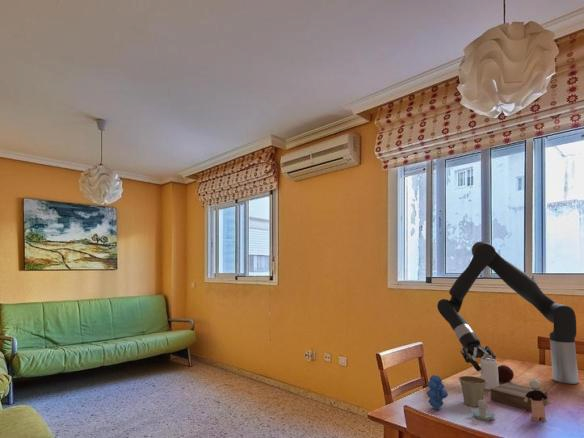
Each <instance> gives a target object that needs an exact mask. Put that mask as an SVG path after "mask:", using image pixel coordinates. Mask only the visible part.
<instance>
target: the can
mask: <svg viewBox="0 0 584 438" xmlns="http://www.w3.org/2000/svg"><path fill="white" fill-rule="evenodd" d="M479 366H480V367H481V370H480V378H482V379H485V380H486V381H487V383H486V384H485V387H484V390H486V391H491V390H490V389H492V388H495V387H497V386H500V380H499V378H498V366H499V365H498V362H497V358H492V357H481V358H480V364H479Z"/></svg>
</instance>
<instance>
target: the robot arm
mask: <svg viewBox="0 0 584 438" xmlns="http://www.w3.org/2000/svg"><path fill="white" fill-rule="evenodd" d="M471 254H472V258H471V261H470V263H469V264H468V266H466V268H465V270H464V271H462V273H460V275H459V276H458V277H457V279H456V280H455V282H454V283H453V284H452V285H451V288H450V289H449V291H448V292H449V293H448V294H449V295H450V299H446V298H442V299H439V301H438V302H437V305H436V306H437V307H436V308H437V310H438V313H439V314H440V316H441V317H442V318H443V319H444V320H445V321H446V322H447V323H448V324H449V325H450V327H451V329H452V330H453V332H454V334H455V337H456V339H458V341H459V343H460V344H461V346H462V348H461V349H460V354H461V356H462V357H463V359H464V361H465V363H467V364H469V363H470V364H472V366H473V368H474V369H475V370H476V372H481V367H480V364H479V362H478V361H477V360H476V359H478V358H479V359H481V357H492V358H495V359H497V356H496V354H495V353H494V352H493V350H492V349H491V348H490V347H489V346H488V345H486V346H484V347H483V346H482V345H481V340H480V339H479V337H478V336H477V335H476V333H475V331H474V330H473V329H472V328H471V326H470V325H469V323H468V322H467V321H466V319H465V318H464V317H463V315H461V314H460V313H459V312H460V311H461V308H462V304H463V302H464V298H465V297H466V295H467V294H468V292H469V291H470V290H471V288H472V286H473V284H474V283H475V282H476V280H477V279H478V277H479V276H480V275H481V274H482V273H483V271H484V270H485V269H486V268H487V267H488V268H490V269H491V270H492V271H494V273H495V274H496V275H497V276H498V278H499V279H500V280H502V282H504V283H505V284H506V285H507V286H508V287H509V288H510V289H512V291H514V292H515V293H516V294H518V296H520V297H522V298H523V299H524V300H526V301H527V302H528V303H529V304H531V305H533V307H534V308H535V309H537V311H539V313H541V315H542V316H543V317H545V319H546V320H547V321H549V323H552V324H553V330H552V332H550V333H549V345H550V356H551V358H550V359H551V371H552V372H551V373H552V374H551V375H552V379H553V381H556V382H559V383H562V384H572V385H573V384H574V385H576V384H579V374H578V359H577V350H576V337H577V316H576V313H575V311H574V309H573V308H572V307H570V306H569V305H566V304H563V303H562V304H561V303H557V302H556V301H554V300H553V299H552V298H550V297H549V296H547V295H546V294H545V293H544V292H543V291H542V289H541V288H540V287H539V285H538V284H537V283H536V280H534V279H533V278H532V277H530V276H529V275H528V274H527V273H526V272H524V271H523V270H522V269H520V268H519V267H518V266H516V265H514V264H513V263H512V262H510V261H508V260H506V259H505V258H504V257H502V255H500V254H499V253H498V252H497V251H496V249H495V247H494V245H492V244H491V243H489V242H486V241H477V242H475V243H474V244H473V245H472V247H471Z"/></svg>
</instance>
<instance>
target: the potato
mask: <svg viewBox="0 0 584 438" xmlns="http://www.w3.org/2000/svg"><path fill="white" fill-rule="evenodd" d="M514 375H515V374H514V371H513V369H511V367H509V366H507V365H505V364H501V365H498V378H499V382H502V383H507V382H508V383H510V381H512V380H513V379H514Z"/></svg>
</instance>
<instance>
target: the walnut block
mask: <svg viewBox="0 0 584 438" xmlns="http://www.w3.org/2000/svg"><path fill="white" fill-rule="evenodd" d="M489 391H490V400H491V401H492V402H497V403H499V402H500V404H504V405H507V406H511V407H514V408H518V409H521V410H525V411H529V412H532V406H531V398H530V399H528V401H527V402H524V399H525V395H526V394H527V393H528V392H529V391H534V390H533V389H532V388H531V387H530V386H524V385H521V384H515V383H512V382H504V383H503V384H499V386H497V387H495V388H492V389H490V390H489ZM538 391H542V392H543V393H544V394H545V395H546V396H547V397H548V391H547V390H546V391H545V390H541V389H539V390H538ZM542 401H543V405H544V406H545V405H548V404H547V403H546V401H545V400H544V399H543V398H542Z"/></svg>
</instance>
